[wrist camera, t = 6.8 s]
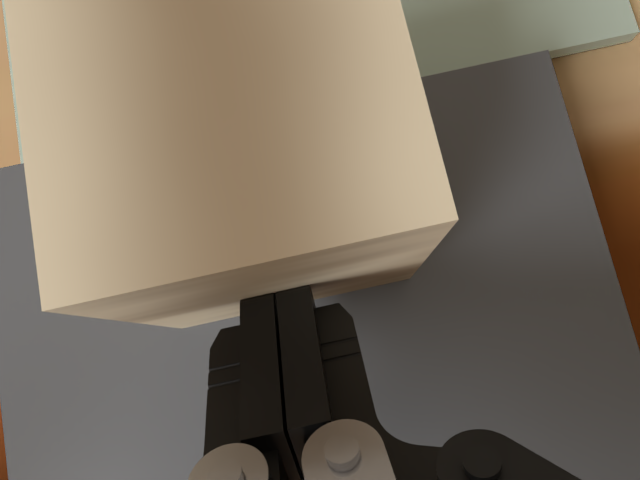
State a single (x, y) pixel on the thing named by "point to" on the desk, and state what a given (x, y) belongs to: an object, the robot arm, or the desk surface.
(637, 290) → the desk surface
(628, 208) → the desk surface
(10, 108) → the desk surface
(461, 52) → the mat
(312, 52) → the birch block
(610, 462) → the plate
